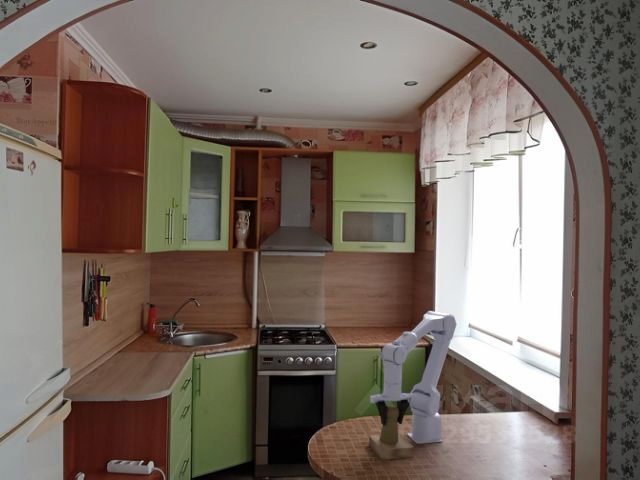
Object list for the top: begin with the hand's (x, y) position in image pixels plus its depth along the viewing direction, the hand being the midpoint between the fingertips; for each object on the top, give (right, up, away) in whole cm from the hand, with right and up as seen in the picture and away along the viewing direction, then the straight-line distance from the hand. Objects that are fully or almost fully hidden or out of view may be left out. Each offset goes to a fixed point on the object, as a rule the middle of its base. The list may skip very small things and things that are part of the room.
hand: (391, 423), depth 156 cm
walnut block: (0, -9, 0) cm, 9 cm away
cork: (-1, -6, +1) cm, 6 cm away
